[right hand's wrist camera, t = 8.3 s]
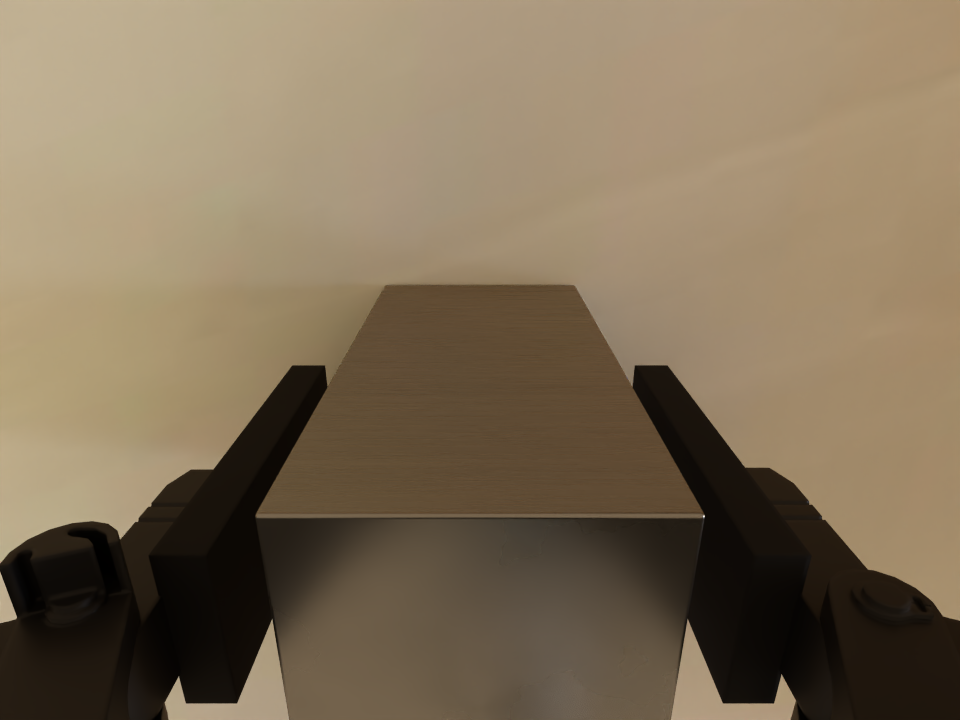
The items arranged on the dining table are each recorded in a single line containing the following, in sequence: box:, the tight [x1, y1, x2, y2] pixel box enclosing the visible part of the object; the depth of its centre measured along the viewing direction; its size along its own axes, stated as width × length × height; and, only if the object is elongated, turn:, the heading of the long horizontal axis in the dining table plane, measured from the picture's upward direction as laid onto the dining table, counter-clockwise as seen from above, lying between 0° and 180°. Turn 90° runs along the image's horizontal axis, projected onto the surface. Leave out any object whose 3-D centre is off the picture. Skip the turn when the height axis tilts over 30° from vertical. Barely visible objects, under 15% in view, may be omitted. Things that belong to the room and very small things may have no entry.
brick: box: [255, 285, 705, 720], centre depth 12 cm, size 6×5×9 cm
